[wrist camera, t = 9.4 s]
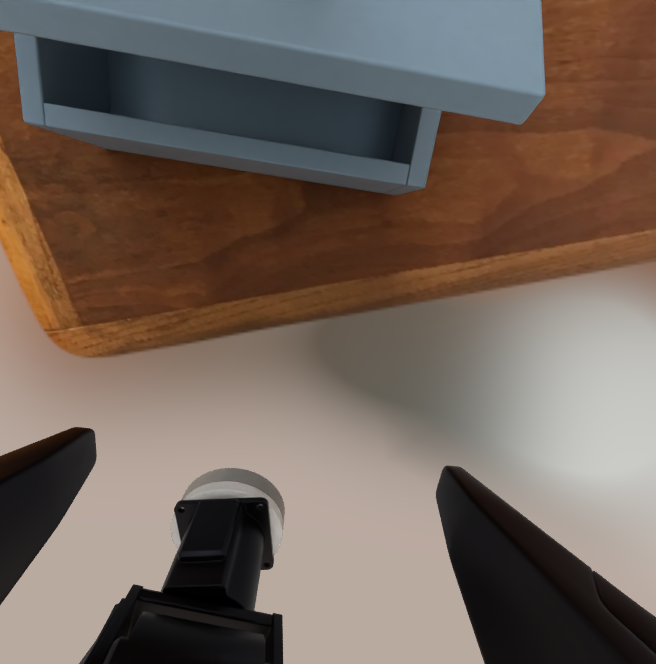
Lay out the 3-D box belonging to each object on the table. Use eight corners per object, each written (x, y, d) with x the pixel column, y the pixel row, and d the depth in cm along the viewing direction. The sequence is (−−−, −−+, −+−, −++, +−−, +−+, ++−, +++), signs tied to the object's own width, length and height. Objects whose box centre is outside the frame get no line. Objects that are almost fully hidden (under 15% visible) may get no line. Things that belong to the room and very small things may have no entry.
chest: (396, 195, 19) (425, 188, 14) (104, 148, 18) (22, 122, 13) (450, -78, 16) (513, -218, 11) (89, -159, 14) (-33, -359, 9)
